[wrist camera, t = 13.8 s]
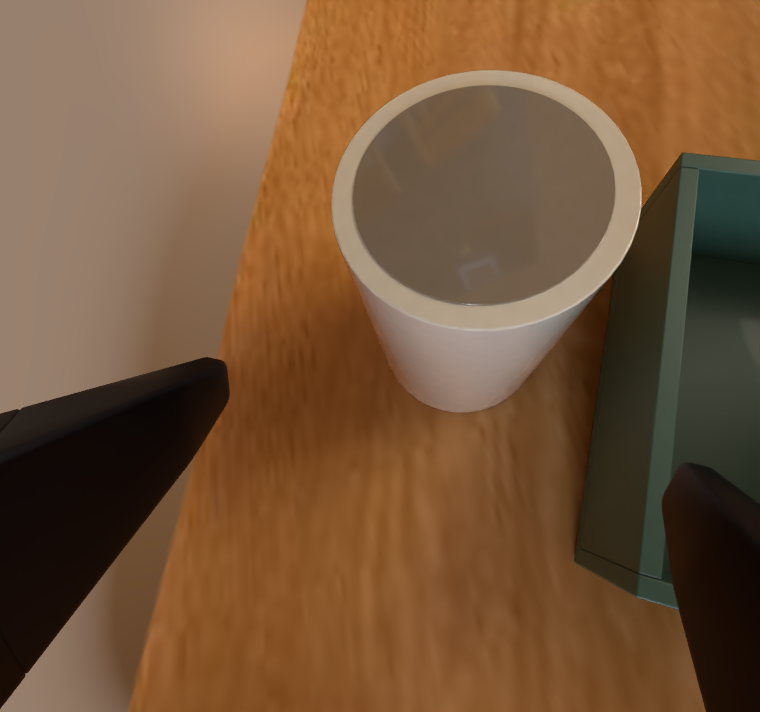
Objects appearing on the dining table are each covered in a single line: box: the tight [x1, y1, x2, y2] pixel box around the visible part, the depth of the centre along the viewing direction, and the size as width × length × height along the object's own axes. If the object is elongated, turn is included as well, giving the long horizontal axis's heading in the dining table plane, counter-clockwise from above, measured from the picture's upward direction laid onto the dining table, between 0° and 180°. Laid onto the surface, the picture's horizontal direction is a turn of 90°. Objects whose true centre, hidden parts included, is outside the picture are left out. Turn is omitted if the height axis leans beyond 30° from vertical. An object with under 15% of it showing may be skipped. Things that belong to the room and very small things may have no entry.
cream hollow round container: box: [331, 70, 642, 412], centre depth 15 cm, size 9×7×10 cm
